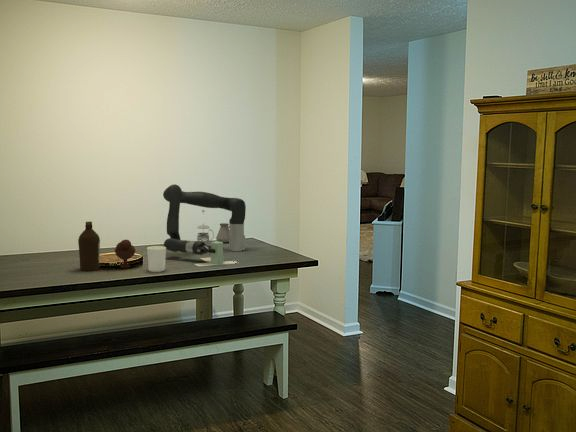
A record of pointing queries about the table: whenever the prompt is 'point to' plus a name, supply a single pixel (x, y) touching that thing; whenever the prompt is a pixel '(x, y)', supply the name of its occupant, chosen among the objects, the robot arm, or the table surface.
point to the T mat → (213, 264)
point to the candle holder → (156, 258)
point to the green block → (217, 253)
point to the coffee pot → (223, 233)
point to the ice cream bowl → (125, 252)
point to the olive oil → (89, 249)
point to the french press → (204, 234)
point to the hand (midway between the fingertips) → (219, 250)
